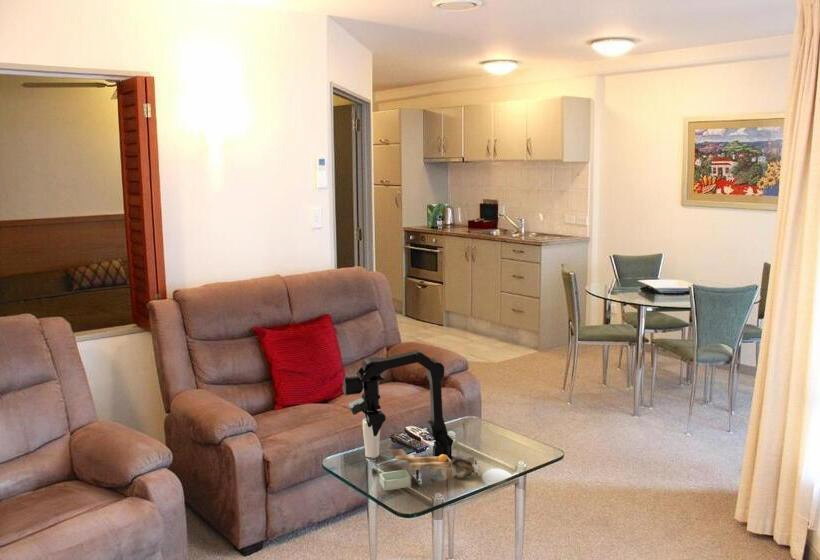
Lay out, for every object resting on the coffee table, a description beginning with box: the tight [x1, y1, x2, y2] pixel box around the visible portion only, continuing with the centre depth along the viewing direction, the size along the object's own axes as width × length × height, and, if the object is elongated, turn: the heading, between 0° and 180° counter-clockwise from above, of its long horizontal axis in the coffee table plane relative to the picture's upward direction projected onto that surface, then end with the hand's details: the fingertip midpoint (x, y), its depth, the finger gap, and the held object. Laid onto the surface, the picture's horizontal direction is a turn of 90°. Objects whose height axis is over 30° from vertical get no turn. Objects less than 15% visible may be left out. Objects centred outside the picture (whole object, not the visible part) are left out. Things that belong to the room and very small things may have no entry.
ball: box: [438, 454, 447, 462], centre depth 268 cm, size 3×3×3 cm
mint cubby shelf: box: [378, 469, 412, 492], centre depth 264 cm, size 10×7×4 cm
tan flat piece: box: [389, 448, 453, 471], centre depth 270 cm, size 20×14×3 cm
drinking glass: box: [362, 417, 381, 459], centre depth 286 cm, size 7×7×15 cm
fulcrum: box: [412, 465, 454, 488], centre depth 268 cm, size 13×9×7 cm
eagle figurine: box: [452, 458, 480, 480], centre depth 269 cm, size 8×7×9 cm
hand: (372, 431), depth 275 cm, fingers open, 9 cm apart
